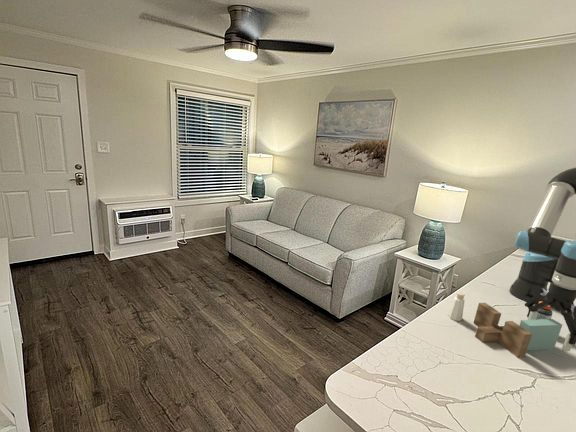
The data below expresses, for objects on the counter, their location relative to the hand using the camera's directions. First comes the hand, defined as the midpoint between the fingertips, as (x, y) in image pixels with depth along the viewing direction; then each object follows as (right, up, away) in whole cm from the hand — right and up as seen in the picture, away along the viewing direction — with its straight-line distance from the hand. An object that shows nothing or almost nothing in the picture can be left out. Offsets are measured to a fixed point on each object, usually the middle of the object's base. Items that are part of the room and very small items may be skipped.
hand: (546, 338), depth 113 cm
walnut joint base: (-16, -1, +2) cm, 17 cm away
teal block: (-5, -3, 0) cm, 6 cm away
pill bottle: (+6, -1, +12) cm, 14 cm away
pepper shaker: (-26, +3, +14) cm, 30 cm away
